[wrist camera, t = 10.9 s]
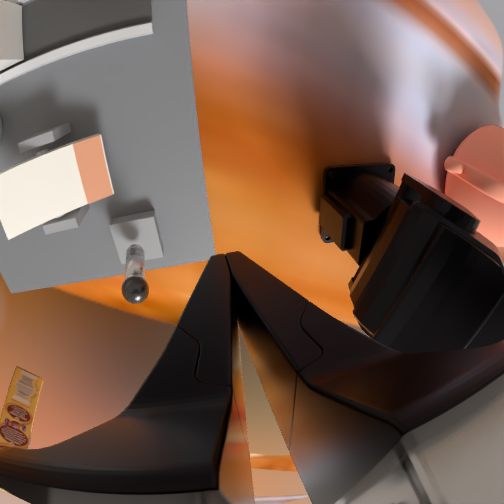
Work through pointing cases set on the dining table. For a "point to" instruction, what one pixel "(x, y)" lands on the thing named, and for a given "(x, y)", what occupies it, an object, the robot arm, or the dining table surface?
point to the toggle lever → (135, 275)
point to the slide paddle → (10, 34)
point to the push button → (0, 130)
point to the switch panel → (107, 137)
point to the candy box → (19, 410)
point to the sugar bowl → (480, 179)
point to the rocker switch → (53, 184)
